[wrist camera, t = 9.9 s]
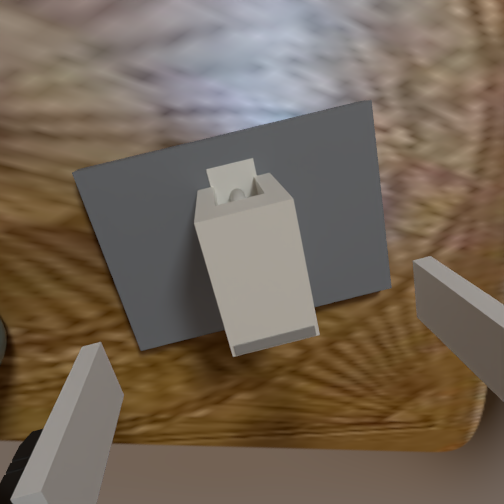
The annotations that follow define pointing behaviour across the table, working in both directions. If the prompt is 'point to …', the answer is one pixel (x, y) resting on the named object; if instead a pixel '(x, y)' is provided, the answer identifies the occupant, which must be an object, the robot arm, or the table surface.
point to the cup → (2, 341)
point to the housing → (257, 267)
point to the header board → (231, 189)
